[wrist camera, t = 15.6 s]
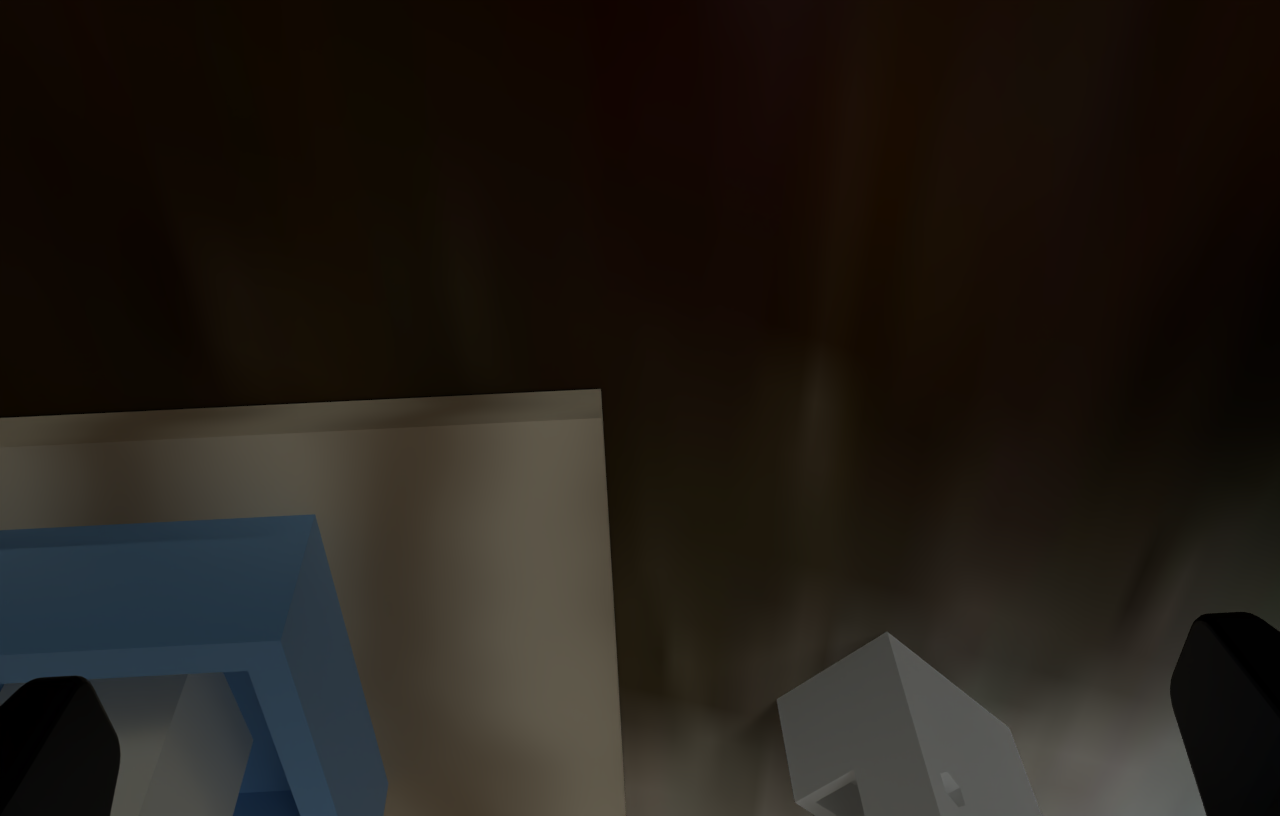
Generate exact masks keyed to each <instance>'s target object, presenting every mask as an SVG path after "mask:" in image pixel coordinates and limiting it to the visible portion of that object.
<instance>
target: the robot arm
mask: <svg viewBox="0 0 1280 816" xmlns="http://www.w3.org/2000/svg"><path fill="white" fill-rule="evenodd" d="M1170 696H1171V702H1172V707H1173V710H1174V714H1175V717H1176V720H1177V723H1178V726H1179V729H1180V733H1181V736H1182V739H1183V742H1184V745H1185V749H1186V752H1187V755H1188V758H1189V761H1190V764H1191V768H1192V771H1193V774H1194V777H1195V780H1196V783H1197V787H1198V790H1199V793H1200V796H1201V799H1202V802H1203V806H1204V809H1205V812H1206V815H1207V816H1280V632H1279V631H1278V630H1276V629H1275V628H1274V627H1272V626H1271V625H1269V624H1268V623H1267V622H1265V621H1264V620H1262V619H1261V618H1259V617H1257V616H1255V615H1253V614H1251V613H1247V612H1230V613H1212V614H1204V615H1201V616H1200V617H1199V618H1197V619H1196V620H1195V621H1194V623H1193V624H1192V626H1191V629H1190V631H1189V634H1188V637H1187V639H1186V642H1185V644H1184V647H1183V649H1182V652H1181V654H1180V657H1179V659H1178V662H1177V665H1176V667H1175V670H1174V672H1173V675H1172V679H1171V685H1170ZM120 756H121V753H120V744H119V739H118V736H117V733H116V731H115V729H114V727H113V725H112V723H111V721H110V719H109V717H108V715H107V713H106V711H105V709H104V707H103V705H102V703H101V701H100V699H99V697H98V695H97V693H96V691H95V689H94V687H93V686H92V684H91V682H90V681H88V680H87V679H86V678H84V677H82V676H77V675H75V676H56V677H41V678H36V679H33V680H30V681H29V682H27V683H25V684H24V685H23V686H21V687H20V688H19V689H18V690H17V691H16V692H15V693H13V694H12V695H11V696H10V697H9V698H8V699H7V700H6V701H5V702H4V703H3V704H1V705H0V816H110V814H111V808H112V803H113V798H114V793H115V788H116V783H117V778H118V773H119V767H120Z"/></svg>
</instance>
